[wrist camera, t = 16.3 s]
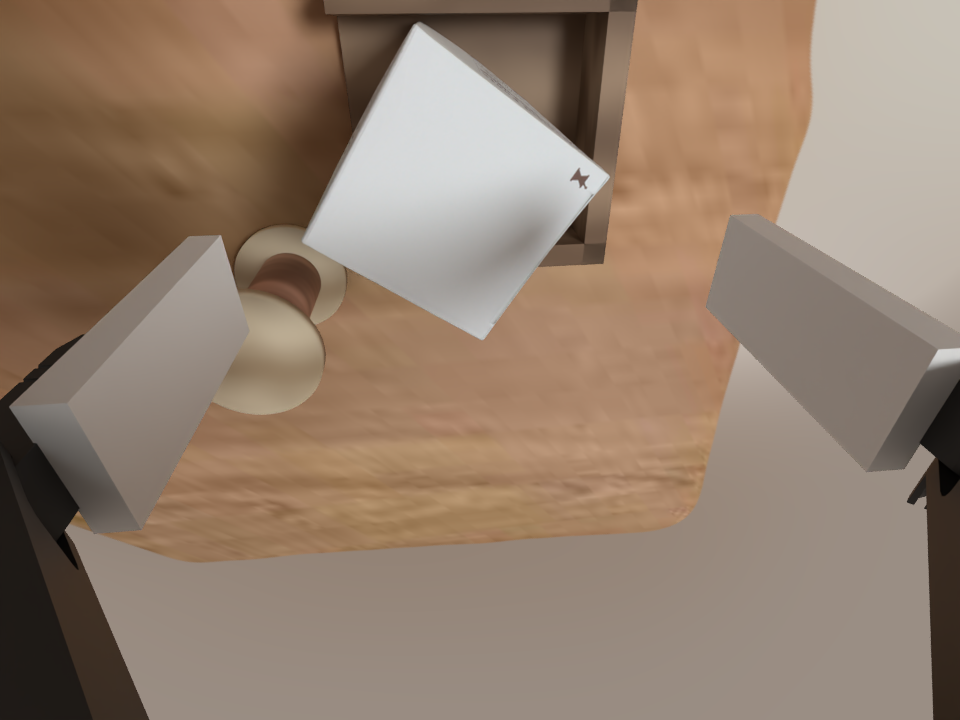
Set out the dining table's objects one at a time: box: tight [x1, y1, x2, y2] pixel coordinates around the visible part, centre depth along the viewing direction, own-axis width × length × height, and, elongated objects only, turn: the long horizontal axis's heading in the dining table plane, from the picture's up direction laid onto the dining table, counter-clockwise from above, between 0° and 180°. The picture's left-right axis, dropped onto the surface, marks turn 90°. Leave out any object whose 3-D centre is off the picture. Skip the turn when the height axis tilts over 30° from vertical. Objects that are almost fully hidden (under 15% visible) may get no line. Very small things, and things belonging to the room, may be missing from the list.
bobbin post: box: [212, 224, 347, 415], centre depth 34 cm, size 8×8×12 cm
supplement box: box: [301, 21, 610, 340], centre depth 27 cm, size 10×9×17 cm
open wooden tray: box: [323, 0, 638, 267], centre depth 33 cm, size 16×16×5 cm
